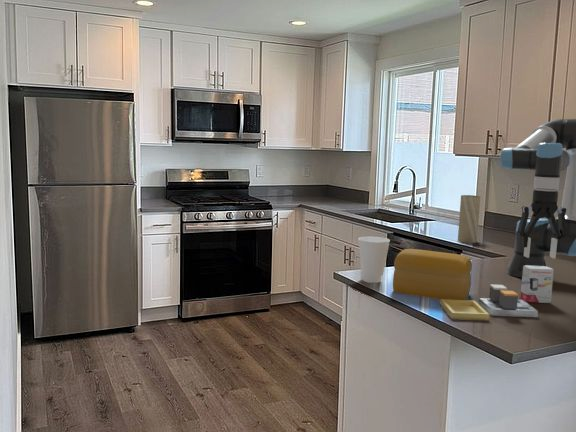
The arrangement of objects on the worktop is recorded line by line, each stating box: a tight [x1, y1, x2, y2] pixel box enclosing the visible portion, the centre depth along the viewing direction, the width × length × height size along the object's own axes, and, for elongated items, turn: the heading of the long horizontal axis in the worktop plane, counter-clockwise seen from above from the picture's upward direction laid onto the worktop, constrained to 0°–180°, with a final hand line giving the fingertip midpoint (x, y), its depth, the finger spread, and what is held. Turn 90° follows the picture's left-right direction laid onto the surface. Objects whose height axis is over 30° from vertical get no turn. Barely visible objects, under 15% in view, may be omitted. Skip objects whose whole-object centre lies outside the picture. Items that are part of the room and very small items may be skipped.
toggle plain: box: [488, 283, 508, 302], centre depth 174 cm, size 4×4×5 cm
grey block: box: [499, 290, 519, 309], centre depth 167 cm, size 4×4×5 cm
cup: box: [357, 236, 391, 284], centre depth 202 cm, size 12×12×16 cm
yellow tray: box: [439, 299, 490, 322], centre depth 167 cm, size 11×14×2 cm
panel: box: [478, 297, 539, 318], centre depth 171 cm, size 14×12×2 cm
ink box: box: [519, 265, 555, 304], centre depth 181 cm, size 9×5×12 cm, turn 90°
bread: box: [392, 248, 473, 301], centre depth 187 cm, size 24×13×15 cm, turn 62°
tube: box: [457, 194, 481, 244], centre depth 292 cm, size 10×10×25 cm
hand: (539, 257), depth 180 cm, fingers open, 8 cm apart
